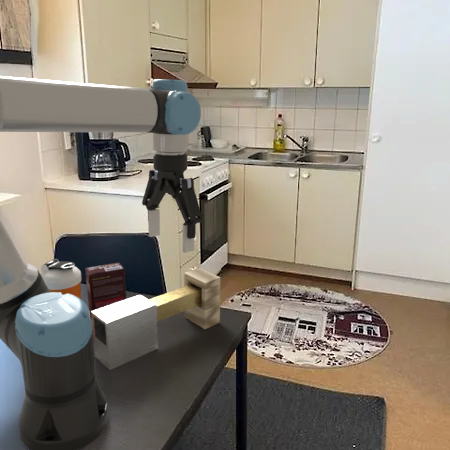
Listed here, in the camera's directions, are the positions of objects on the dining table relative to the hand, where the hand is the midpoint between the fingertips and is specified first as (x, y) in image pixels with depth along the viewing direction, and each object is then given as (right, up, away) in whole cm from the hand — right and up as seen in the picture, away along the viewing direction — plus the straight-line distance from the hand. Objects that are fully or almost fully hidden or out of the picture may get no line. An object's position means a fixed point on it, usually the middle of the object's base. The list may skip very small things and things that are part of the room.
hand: (170, 243), depth 109 cm
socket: (+7, -20, +11) cm, 24 cm away
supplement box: (-16, -21, +7) cm, 28 cm away
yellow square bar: (0, -17, +3) cm, 17 cm away
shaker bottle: (-24, -23, 0) cm, 34 cm away
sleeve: (-9, -25, -4) cm, 27 cm away
